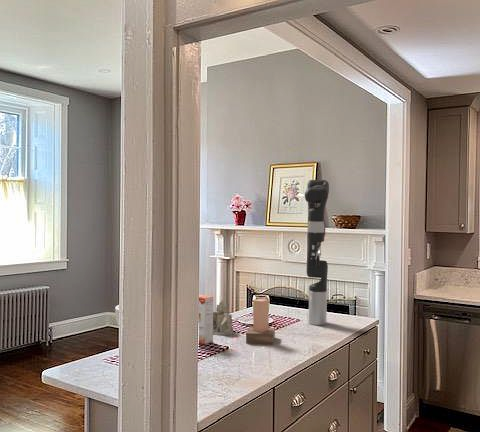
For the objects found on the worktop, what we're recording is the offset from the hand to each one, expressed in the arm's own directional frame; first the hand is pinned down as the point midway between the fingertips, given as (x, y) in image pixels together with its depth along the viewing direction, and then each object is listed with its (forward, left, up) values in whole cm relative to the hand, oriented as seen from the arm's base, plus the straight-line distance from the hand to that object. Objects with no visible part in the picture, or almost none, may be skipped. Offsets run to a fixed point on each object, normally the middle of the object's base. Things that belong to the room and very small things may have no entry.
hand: (315, 266), depth 227 cm
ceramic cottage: (+1, -48, -34) cm, 59 cm away
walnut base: (+9, -23, -34) cm, 43 cm away
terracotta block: (+9, -23, -30) cm, 39 cm away
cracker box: (+20, -50, -34) cm, 64 cm away
